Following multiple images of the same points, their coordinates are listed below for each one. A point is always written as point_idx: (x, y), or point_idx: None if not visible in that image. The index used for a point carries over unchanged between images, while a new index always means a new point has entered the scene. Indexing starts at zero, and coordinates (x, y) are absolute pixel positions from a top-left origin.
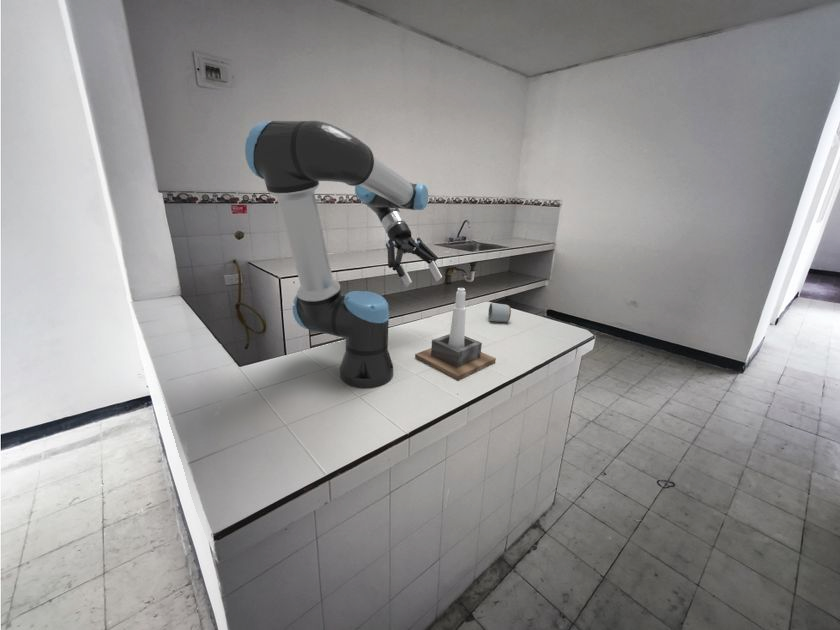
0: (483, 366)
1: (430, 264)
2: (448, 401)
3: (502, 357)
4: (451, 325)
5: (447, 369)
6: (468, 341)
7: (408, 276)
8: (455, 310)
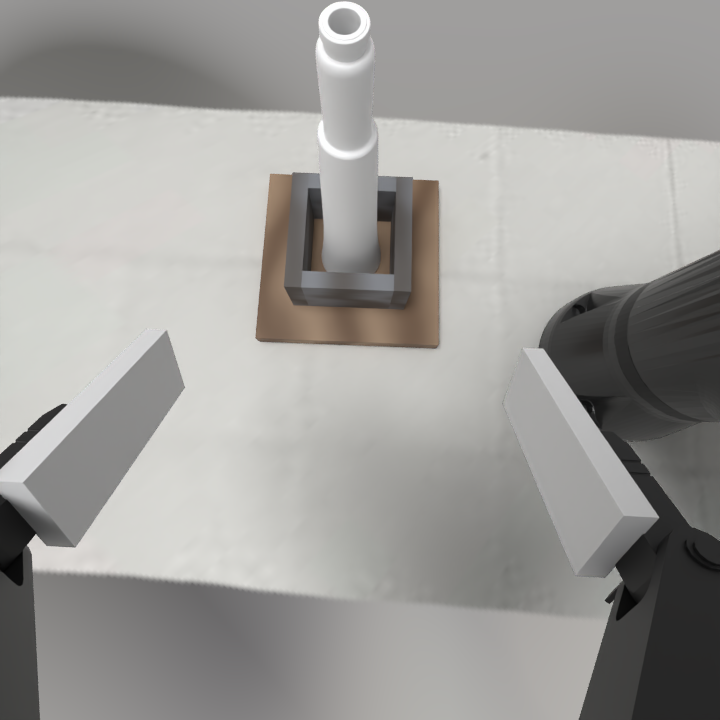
0: None
1: (65, 502)
2: (524, 151)
3: (227, 187)
4: (371, 209)
5: (435, 219)
6: (307, 216)
7: (554, 383)
8: (377, 140)
